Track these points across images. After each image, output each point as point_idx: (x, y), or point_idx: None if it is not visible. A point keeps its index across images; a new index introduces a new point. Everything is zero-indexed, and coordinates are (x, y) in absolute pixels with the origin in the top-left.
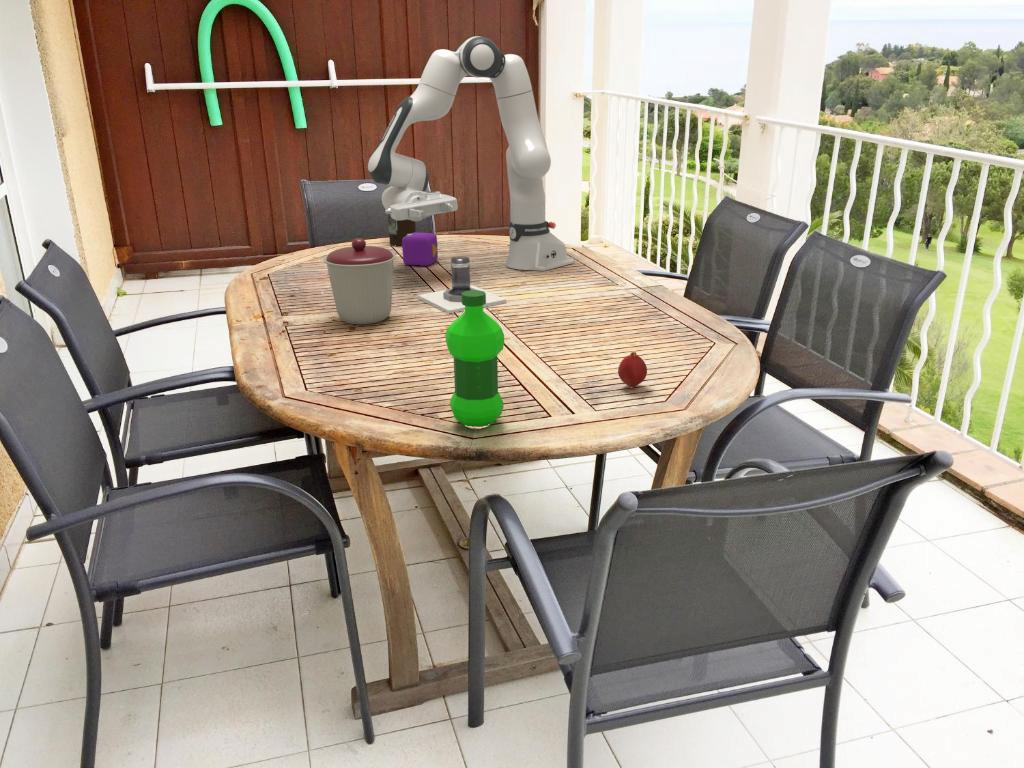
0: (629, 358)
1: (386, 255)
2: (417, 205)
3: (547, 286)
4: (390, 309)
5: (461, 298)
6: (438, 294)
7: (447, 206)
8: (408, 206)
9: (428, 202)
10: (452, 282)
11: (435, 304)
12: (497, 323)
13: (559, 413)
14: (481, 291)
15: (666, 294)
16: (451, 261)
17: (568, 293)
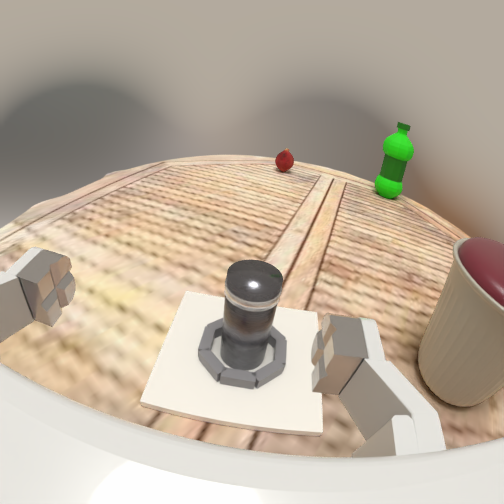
0: (289, 152)
1: (470, 238)
2: (328, 460)
3: None
4: (421, 341)
5: (409, 128)
6: (273, 404)
7: (58, 262)
8: (459, 463)
9: (48, 452)
10: (270, 332)
11: None
12: (387, 137)
13: (340, 181)
14: (399, 122)
15: (45, 207)
16: (280, 289)
17: (77, 263)
